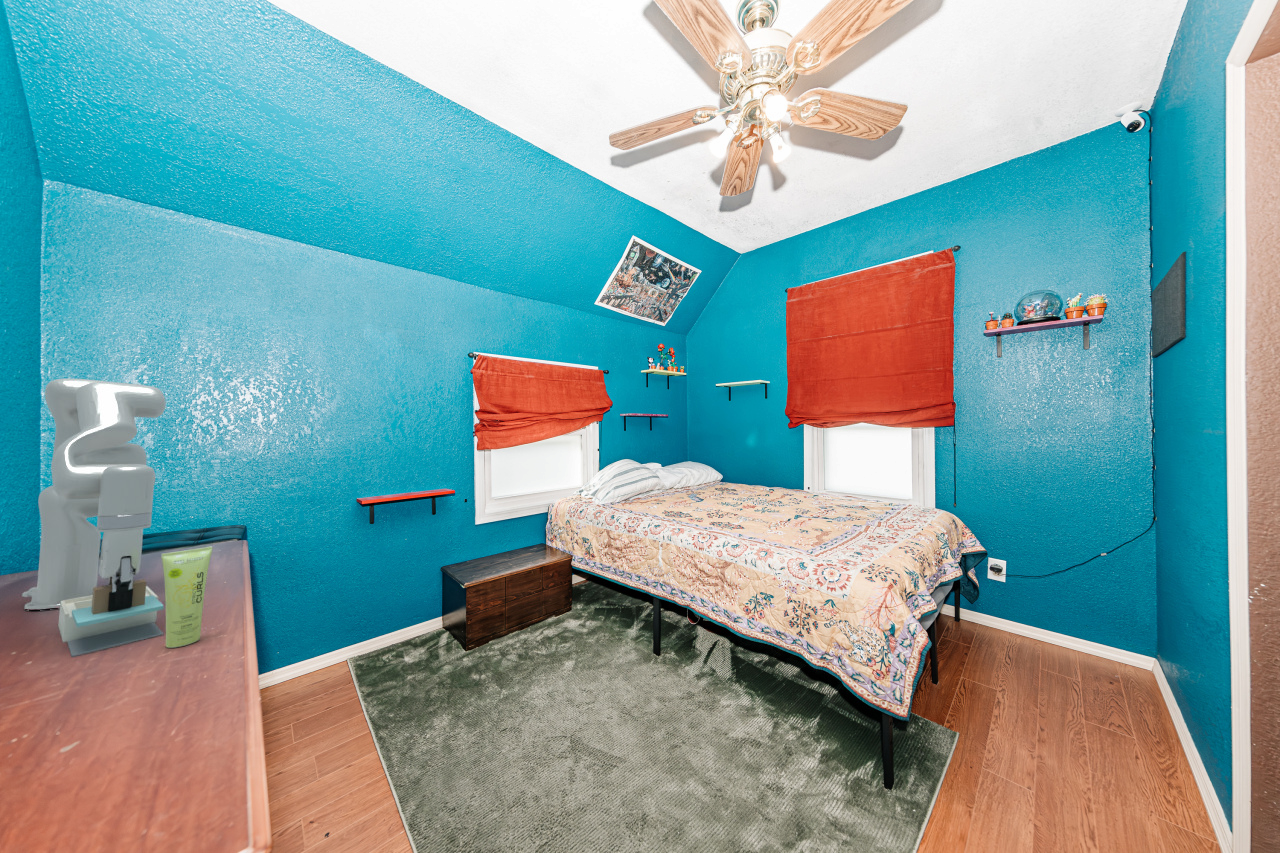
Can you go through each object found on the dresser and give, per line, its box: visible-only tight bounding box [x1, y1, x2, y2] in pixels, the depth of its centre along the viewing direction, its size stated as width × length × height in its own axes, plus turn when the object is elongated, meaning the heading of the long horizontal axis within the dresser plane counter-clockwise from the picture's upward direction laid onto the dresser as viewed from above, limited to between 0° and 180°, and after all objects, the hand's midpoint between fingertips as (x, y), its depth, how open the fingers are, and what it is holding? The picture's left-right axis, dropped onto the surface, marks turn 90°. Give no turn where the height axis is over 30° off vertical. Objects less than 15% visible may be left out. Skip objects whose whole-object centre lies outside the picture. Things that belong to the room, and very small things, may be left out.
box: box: [57, 585, 159, 643], centre depth 98 cm, size 14×13×6 cm
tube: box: [160, 546, 214, 649], centre depth 89 cm, size 6×5×20 cm
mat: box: [66, 622, 165, 658], centre depth 90 cm, size 11×12×1 cm
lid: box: [72, 578, 165, 627], centre depth 91 cm, size 12×11×6 cm
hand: (118, 606), depth 91 cm, fingers closed on lid, 3 cm apart
